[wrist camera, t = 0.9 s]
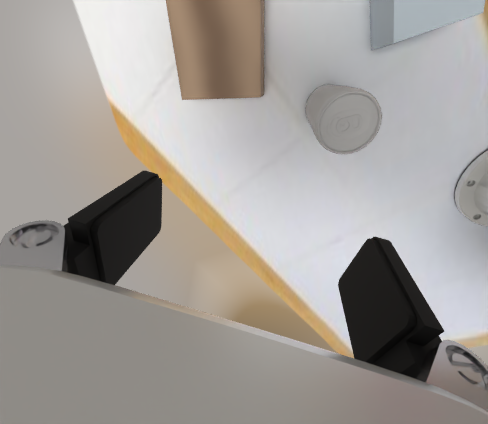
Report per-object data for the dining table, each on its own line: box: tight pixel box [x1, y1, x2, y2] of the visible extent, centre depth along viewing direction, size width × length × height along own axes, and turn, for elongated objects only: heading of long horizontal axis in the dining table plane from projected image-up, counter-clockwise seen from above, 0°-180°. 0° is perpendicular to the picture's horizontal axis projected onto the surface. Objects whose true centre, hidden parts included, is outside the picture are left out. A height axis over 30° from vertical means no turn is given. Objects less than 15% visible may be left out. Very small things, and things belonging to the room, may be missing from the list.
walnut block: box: [166, 0, 264, 100], centre depth 24 cm, size 9×9×4 cm
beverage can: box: [305, 84, 382, 154], centre depth 22 cm, size 5×5×12 cm
